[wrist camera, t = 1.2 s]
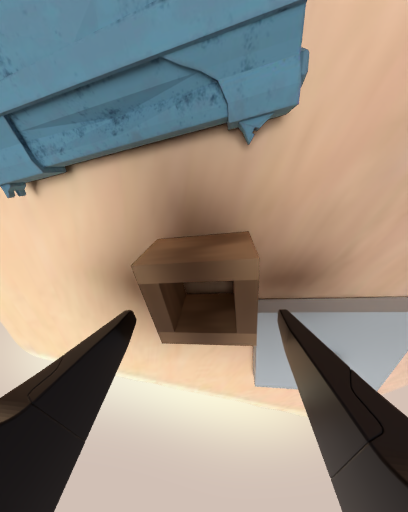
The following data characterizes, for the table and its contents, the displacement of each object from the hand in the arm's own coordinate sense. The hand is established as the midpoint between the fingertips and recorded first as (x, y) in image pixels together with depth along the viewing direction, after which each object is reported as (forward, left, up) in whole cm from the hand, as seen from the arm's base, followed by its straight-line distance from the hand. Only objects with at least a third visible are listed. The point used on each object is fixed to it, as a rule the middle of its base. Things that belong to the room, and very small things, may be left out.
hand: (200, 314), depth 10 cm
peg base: (-10, +9, -4) cm, 14 cm away
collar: (0, 0, -4) cm, 4 cm away
